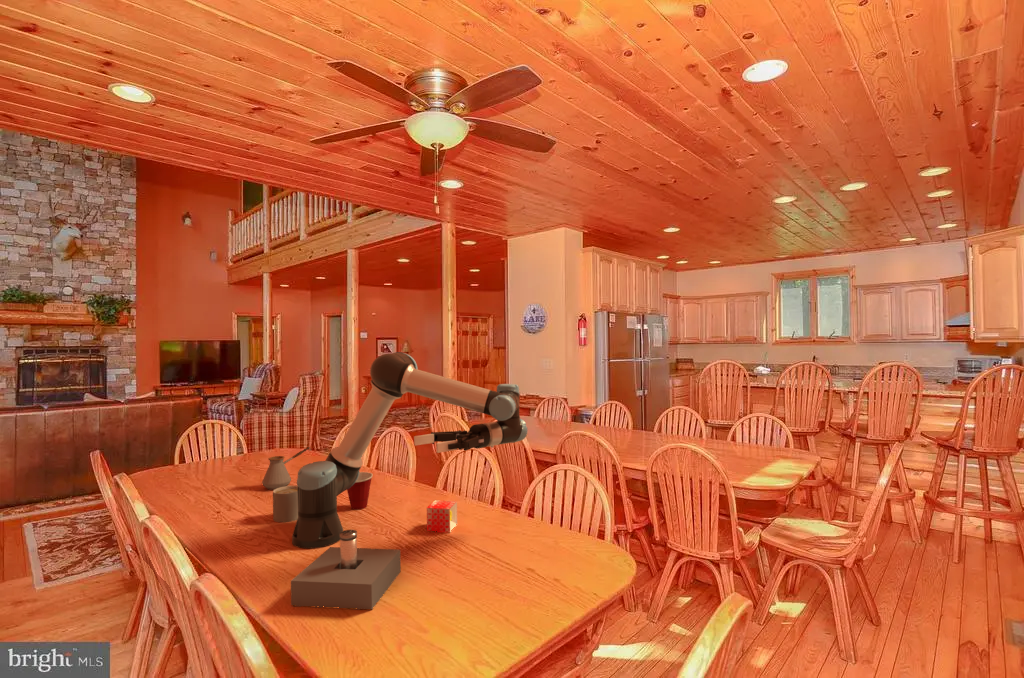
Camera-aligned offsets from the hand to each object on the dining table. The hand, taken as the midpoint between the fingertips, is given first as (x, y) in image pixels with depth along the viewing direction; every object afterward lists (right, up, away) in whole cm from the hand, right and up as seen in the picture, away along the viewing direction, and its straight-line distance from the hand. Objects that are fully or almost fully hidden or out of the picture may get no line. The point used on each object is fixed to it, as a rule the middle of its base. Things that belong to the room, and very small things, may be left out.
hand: (425, 444), depth 153 cm
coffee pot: (-73, -33, +75) cm, 109 cm away
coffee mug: (-53, -33, +34) cm, 71 cm away
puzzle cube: (+2, -32, +20) cm, 38 cm away
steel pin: (-16, -32, -21) cm, 41 cm away
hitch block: (-16, -32, -21) cm, 42 cm away
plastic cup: (-32, -33, +43) cm, 63 cm away
